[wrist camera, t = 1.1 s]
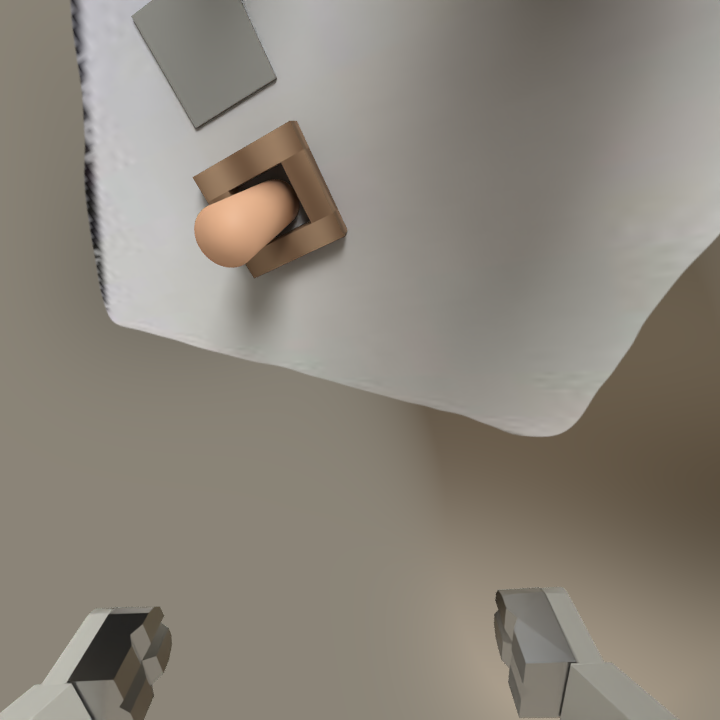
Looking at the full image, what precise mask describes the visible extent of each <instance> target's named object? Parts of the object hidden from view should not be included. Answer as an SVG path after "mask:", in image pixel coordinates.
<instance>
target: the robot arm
mask: <svg viewBox="0 0 720 720" xmlns="http://www.w3.org/2000/svg"><path fill="white" fill-rule="evenodd" d="M495 601H496V604H497V607H498V611H497V612H496V613H495V614H494V628H495V637H496V641H497V645H498V649H499V653H500V656H501V660H502V661H503V662H504V663H505V664H506V665H507V666H508V667H509V681H508V683H509V686H510V689H511V693H512V696H513V699H514V703H515V706H516V709H517V712H518V715H519V718H560V720H679V719H678V718H677V717H676V716H674V715H673V714H672V713H671V712H670V711H669V710H667V709H666V708H665V707H664V706H663V705H662V704H660V703H659V702H658V701H657V700H656V699H654V698H653V697H652V696H651V695H650V694H649V693H647V692H646V691H645V690H644V689H643V688H641V687H640V686H639V685H638V684H637V683H635V682H634V681H633V680H632V679H631V678H630V677H629V676H627V675H626V674H625V673H624V672H623V671H622V670H620V669H619V668H618V667H617V666H616V665H614V664H613V663H612V662H604V660H603V658H602V657H601V655H600V653H599V651H598V649H597V647H596V645H595V643H594V641H593V640H592V638H591V636H590V634H589V632H588V630H587V628H586V626H585V624H584V622H583V621H582V619H581V617H580V615H579V613H578V611H577V609H576V608H575V605H574V604H573V602H572V600H571V598H570V596H569V594H568V592H567V591H566V590H565V589H564V588H563V587H551V588H539V587H538V588H522V589H506V590H498V591H497V592H496V599H495ZM163 617H164V615H163V612H162V610H161V608H160V607H122V608H118V607H116V608H96V609H95V610H93V611H92V612H91V613H90V614H89V615H88V616H87V617H86V619H85V620H84V622H83V623H82V625H81V626H80V628H79V629H78V631H77V632H76V634H75V635H74V637H73V638H72V640H71V641H70V643H69V644H68V646H67V647H66V649H65V650H64V651H63V653H62V655H61V656H60V657H59V659H58V660H57V662H56V663H55V665H54V666H53V668H52V669H51V671H50V672H49V674H48V675H47V677H46V678H45V680H44V681H43V683H42V684H38V685H34V686H33V687H32V688H30V689H29V690H28V691H27V692H25V693H24V694H23V695H22V696H21V697H19V698H18V699H17V700H16V701H14V702H13V703H12V704H11V705H10V706H8V707H7V708H6V709H5V710H3V711H2V712H1V713H0V720H144V718H145V716H146V713H147V711H148V709H149V706H150V704H151V702H152V699H153V697H154V692H153V687H152V685H153V684H154V683H155V682H156V681H157V680H158V678H159V677H160V676H162V675H163V673H164V671H165V669H166V666H167V663H168V661H169V657H170V652H171V647H172V638H171V633H170V630H169V628H168V627H166V626H165V625H164V624H162V623H161V621H162V619H163Z"/></svg>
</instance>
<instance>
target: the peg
mask: <svg viewBox="0 0 720 720" xmlns="http://www.w3.org/2000/svg"><path fill="white" fill-rule="evenodd" d="M298 210H299V199H298V196H297V194H296V192H295V190H294V189H293V187H292V186H291V185H289V184H288V183H287V182H285V181H283V180H280V179H270V180H267V181H265V182H263V183H260V184H258V185H256V186H253V187H251V188H249V189H246V190H244V191H242V192H239V193H237V194H234V195H232V196H230V197H227V198H225V199H223V200H220V201H218V202H216V203H213V204H211V205H209V206H207V207H205V208H204V209H203V210H202V211H201V212H200V213H199V214H198V216H197V218H196V221H195V227H194V231H195V238H196V241H197V243H198V246H199V247H200V249H201V251H202V252H203V253H204V254H205V255H206V257H208V258H209V259H210V260H211V261H213V262H214V263H216V264H218V265H221V266H224V267H239V266H242V265H244V264H246V263H247V262H248V261H249V260H250V259H252V258H253V257H254V256H255V255H256V254H257V253H258V252H259V251H260V250H261V249H262V248H263V247H265V246H266V245H267V244H268V243H269V242H270V241H271V240H272V239H273V238H274V237H275V236H277V235H278V234H279V233H280V232H281V231H282V230H283V229H284V228H285V227H286V226H287V225H288V224H290V223H291V222H292V221H293V220H294V219H295V217H296V216H297V214H298Z"/></svg>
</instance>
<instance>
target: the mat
mask: <svg viewBox="0 0 720 720" xmlns="http://www.w3.org/2000/svg"><path fill="white" fill-rule="evenodd" d="M131 17H132V18H133V20H134V22H135V24H136V25H137V27H138V29H139V31H140V32H141V34H142V36H143V37H144V39H145V41H146V43H147V44H148V46H149V48H150V50H151V51H152V53H153V55H154V57H155V58H156V60H157V62H158V64H159V65H160V67H161V69H162V71H163V72H164V74H165V76H166V78H167V79H168V81H169V83H170V85H171V86H172V88H173V90H174V92H175V93H176V95H177V97H178V98H179V100H180V102H181V104H182V105H183V107H184V109H185V111H186V112H187V114H188V116H189V118H190V119H191V121H192V123H193V125H194V126H195V128H198V127H199V126H201V125H203V124H204V123H206V122H207V121H209V120H211V119H212V118H214V117H216V116H217V115H219V114H220V113H222V112H224V111H225V110H227V109H228V108H230V107H232V106H233V105H235V104H236V103H238V102H240V101H241V100H243V99H244V98H246V97H248V96H249V95H251V94H252V93H254V92H256V91H257V90H259V89H261V88H262V87H264V86H265V85H267V84H269V83H270V82H272V81H273V80H275V79H277V78H276V75H275V73H274V71H273V69H272V67H271V65H270V63H269V60H268V58H267V56H266V54H265V52H264V50H263V47H262V45H261V43H260V41H259V39H258V37H257V35H256V32H255V30H254V28H253V26H252V24H251V22H250V19H249V17H248V15H247V13H246V11H245V9H244V7H243V4H242V2H241V0H152V1H151V2H149V3H148V4H147V5H145V6H144V7H143V8H142V9H140V10H139V11H138V12H136V13H135V14H134V15H132V16H131Z"/></svg>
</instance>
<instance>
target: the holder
mask: <svg viewBox="0 0 720 720" xmlns="http://www.w3.org/2000/svg"><path fill="white" fill-rule="evenodd" d="M279 164H282V166H283V168H284V170H285V172H286V174H287V176H288V178H289V180H290V182H291V184H292V186H293V188H294V190H295V192H296V194H297V196H298V198H299V200H300V202H301V204H302V206H303V208H304V210H305V212H306V214H307V216H308V218H309V219H310V221H309V222H307V223H305V224H303V225H301V226H299V227H297V228H295V229H293V230H291V231H289V232H287V233H285V234H283V235H281V236H279V237H277V238H274V239H272V240H271V241H270V242H269V243H268V244H267V245H266V246H265V247H263V248H262V249H261V250H260V251H259V252H258V253H257V254H256V255H255V256H254V257H253V258H252V259H250V260H249V261H248V262H247V263H246V266H247V268H248V269H249V271H250V273H251V274H252V276H253V277H254V278H256V277H258V276H260V275H263V274H265V273H267V272H269V271H271V270H273V269H275V268H278V267H280V266H282V265H284V264H286V263H288V262H290V261H293V260H295V259H297V258H299V257H301V256H303V255H306V254H308V253H310V252H312V251H314V250H316V249H318V248H321V247H323V246H325V245H327V244H329V243H331V242H333V241H336V240H338V239H340V238H342V237H344V236H345V234H346V232H347V228H346V226H345V224H344V222H343V220H342V217H341V215H340V213H339V211H338V209H337V207H336V204H335V202H334V200H333V198H332V196H331V194H330V192H329V189H328V187H327V185H326V183H325V181H324V179H323V177H322V174H321V172H320V170H319V168H318V166H317V164H316V161H315V159H314V157H313V155H312V153H311V151H310V149H309V146H308V144H307V142H306V140H305V138H304V136H303V133H302V131H301V129H300V127H299V125H298V123H297V121H289V122H287V123H285V124H284V125H282V126H280V127H279V128H277V129H275V130H273V131H272V132H270V133H268V134H267V135H265V136H263V137H261V138H260V139H258V140H256V141H254V142H253V143H251V144H249V145H248V146H246V147H244V148H242V149H241V150H239V151H237V152H236V153H234V154H232V155H230V156H229V157H227V158H225V159H223V160H222V161H220V162H218V163H217V164H215V165H213V166H211V167H210V168H208V169H206V170H205V171H203V172H201V173H199V174H198V175H196V176H194V177H193V179H194V180H195V182H196V184H197V185H198V187H199V189H200V190H201V192H202V194H203V195H204V197H205V199H206V200H207V202H208V203H209V205H211V204H213V203H216V202H218V201H220V200H223V199H225V198H227V197H230V196H232V195H234V194H237V193H239V192H240V191H239V189H238V187H239V186H241V185H243V184H245V183H247V182H248V181H250V180H252V179H254V178H256V177H257V176H259V175H261V174H263V173H265V172H267V171H268V170H270V169H272V168H274V167H276V166H277V165H279Z"/></svg>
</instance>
